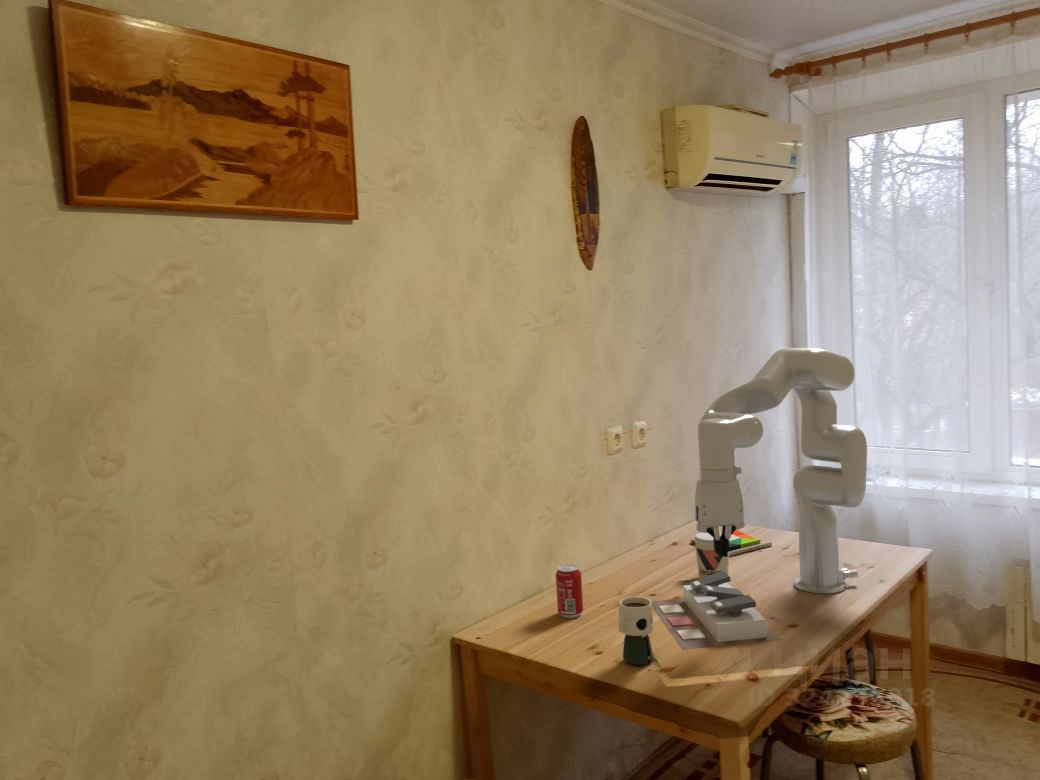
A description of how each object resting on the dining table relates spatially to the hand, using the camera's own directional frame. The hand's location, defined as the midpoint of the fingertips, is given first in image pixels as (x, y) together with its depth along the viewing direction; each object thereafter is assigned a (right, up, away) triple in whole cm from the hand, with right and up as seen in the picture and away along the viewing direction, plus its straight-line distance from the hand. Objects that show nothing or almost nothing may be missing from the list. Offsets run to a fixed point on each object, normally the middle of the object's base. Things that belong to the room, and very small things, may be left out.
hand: (721, 555), depth 183 cm
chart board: (0, -18, +9) cm, 20 cm away
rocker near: (+3, -13, +1) cm, 14 cm away
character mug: (-20, -21, -8) cm, 30 cm away
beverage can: (-32, -19, +21) cm, 43 cm away
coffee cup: (+8, -15, +41) cm, 44 cm away
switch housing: (+2, -17, +9) cm, 19 cm away
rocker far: (+2, -12, +17) cm, 21 cm away
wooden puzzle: (+20, -12, +71) cm, 75 cm away
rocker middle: (+2, -13, +9) cm, 16 cm away
